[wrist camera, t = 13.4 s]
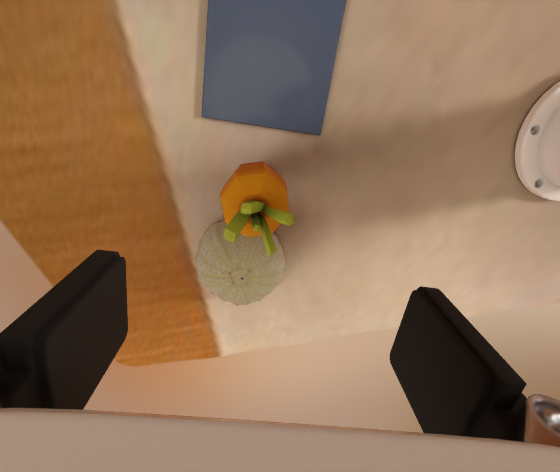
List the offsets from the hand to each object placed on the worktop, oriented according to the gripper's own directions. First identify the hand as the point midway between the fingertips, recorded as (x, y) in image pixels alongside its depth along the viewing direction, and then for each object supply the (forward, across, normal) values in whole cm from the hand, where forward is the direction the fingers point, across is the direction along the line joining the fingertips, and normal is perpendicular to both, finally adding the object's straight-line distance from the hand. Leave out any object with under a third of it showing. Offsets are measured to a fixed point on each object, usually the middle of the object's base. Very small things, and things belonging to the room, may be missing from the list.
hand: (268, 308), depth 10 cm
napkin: (+23, +1, -10) cm, 25 cm away
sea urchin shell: (+23, +2, +9) cm, 25 cm away
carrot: (+23, +1, 0) cm, 23 cm away
